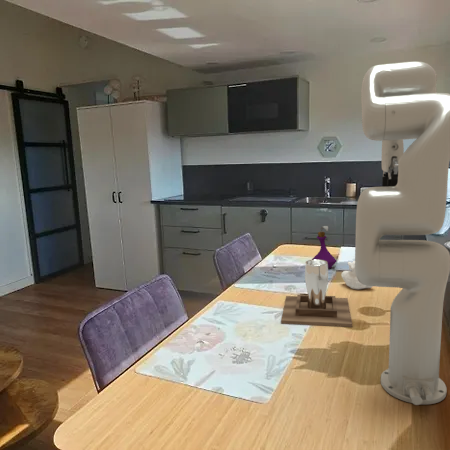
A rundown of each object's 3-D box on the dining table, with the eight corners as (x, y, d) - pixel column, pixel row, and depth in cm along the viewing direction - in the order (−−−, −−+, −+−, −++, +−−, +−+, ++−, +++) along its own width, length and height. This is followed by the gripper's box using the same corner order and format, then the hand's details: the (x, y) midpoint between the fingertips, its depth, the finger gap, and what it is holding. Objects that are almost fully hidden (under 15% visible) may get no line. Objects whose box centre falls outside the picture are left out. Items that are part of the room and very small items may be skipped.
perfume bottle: (311, 267, 172) (310, 225, 169) (325, 264, 176) (325, 223, 172) (322, 271, 166) (322, 228, 162) (336, 268, 169) (337, 226, 165)
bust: (340, 290, 149) (332, 272, 143) (347, 274, 153) (339, 255, 146) (372, 297, 142) (365, 278, 135) (379, 279, 145) (372, 260, 138)
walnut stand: (352, 327, 115) (352, 317, 114) (281, 323, 119) (280, 313, 118) (347, 300, 134) (347, 292, 133) (286, 298, 138) (286, 290, 138)
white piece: (328, 313, 122) (328, 265, 119) (305, 312, 123) (304, 265, 121) (327, 304, 129) (327, 259, 126) (305, 304, 130) (304, 259, 127)
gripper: (412, 131, 110) (409, 194, 113) (400, 133, 127) (398, 187, 130) (382, 133, 112) (381, 194, 115) (374, 134, 128) (373, 188, 131)
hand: (390, 191), depth 122 cm, fingers open, 9 cm apart
